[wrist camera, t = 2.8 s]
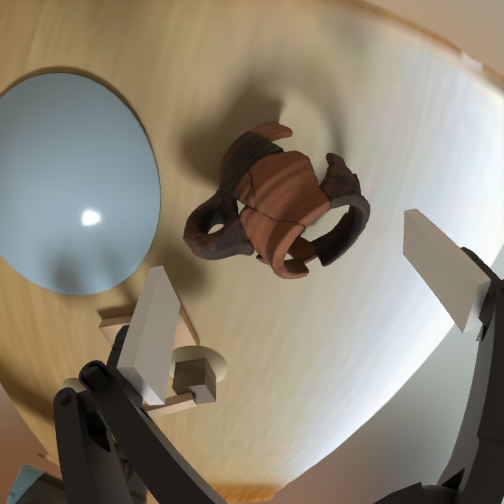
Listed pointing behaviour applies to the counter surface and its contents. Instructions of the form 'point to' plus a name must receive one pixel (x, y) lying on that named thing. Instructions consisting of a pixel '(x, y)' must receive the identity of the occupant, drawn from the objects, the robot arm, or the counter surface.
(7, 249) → the plate
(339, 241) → the pottery mug
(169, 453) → the robot arm
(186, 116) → the counter surface
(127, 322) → the balance
